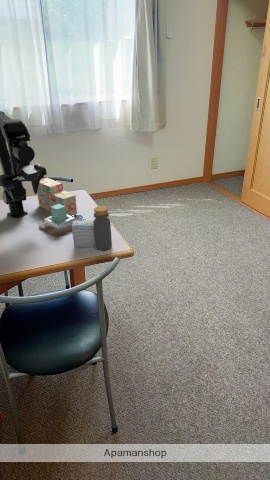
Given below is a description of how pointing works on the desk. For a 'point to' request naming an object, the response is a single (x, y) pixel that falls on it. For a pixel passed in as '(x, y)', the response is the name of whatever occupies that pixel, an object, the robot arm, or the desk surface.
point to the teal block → (58, 213)
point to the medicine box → (83, 233)
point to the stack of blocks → (55, 196)
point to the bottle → (102, 229)
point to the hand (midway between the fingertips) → (25, 197)
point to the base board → (55, 231)
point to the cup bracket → (60, 225)
